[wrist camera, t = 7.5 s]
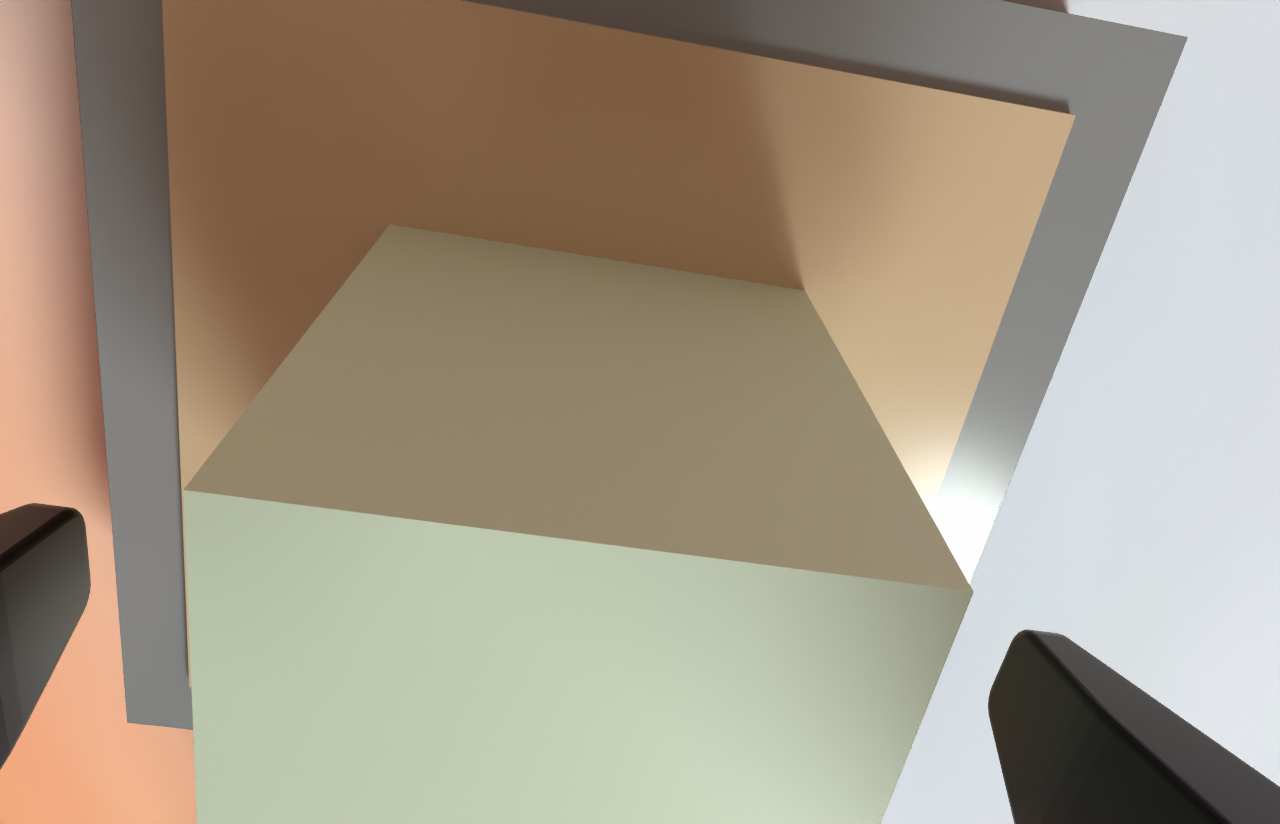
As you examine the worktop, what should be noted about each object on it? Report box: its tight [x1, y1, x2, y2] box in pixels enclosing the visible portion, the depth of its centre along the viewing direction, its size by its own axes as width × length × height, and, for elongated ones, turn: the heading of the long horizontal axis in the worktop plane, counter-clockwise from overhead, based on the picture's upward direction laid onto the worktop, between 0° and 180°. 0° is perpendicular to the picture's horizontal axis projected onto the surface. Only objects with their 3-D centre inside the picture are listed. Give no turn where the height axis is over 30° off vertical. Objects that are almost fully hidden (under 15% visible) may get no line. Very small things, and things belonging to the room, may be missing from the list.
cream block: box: [183, 224, 973, 824], centre depth 10 cm, size 5×5×6 cm
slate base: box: [71, 0, 1188, 730], centre depth 14 cm, size 12×12×3 cm
